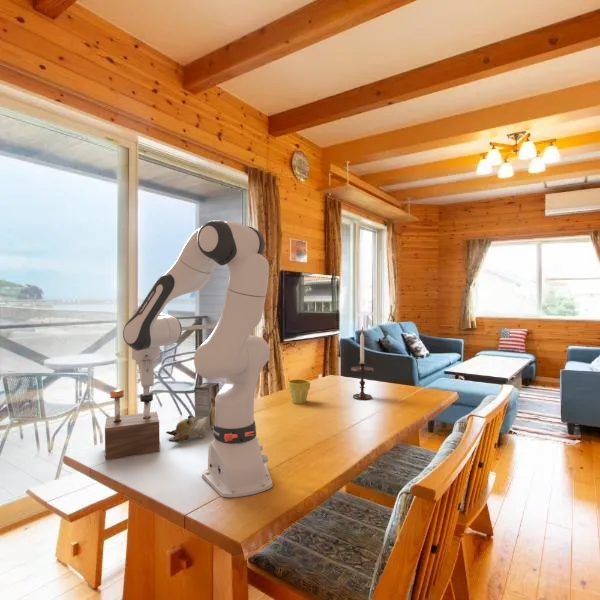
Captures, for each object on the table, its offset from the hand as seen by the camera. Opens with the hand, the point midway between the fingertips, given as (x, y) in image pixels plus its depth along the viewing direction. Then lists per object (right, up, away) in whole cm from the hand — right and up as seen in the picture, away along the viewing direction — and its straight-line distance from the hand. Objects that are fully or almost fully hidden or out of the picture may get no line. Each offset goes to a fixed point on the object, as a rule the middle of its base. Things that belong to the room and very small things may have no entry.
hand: (146, 394), depth 136 cm
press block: (-4, -18, -1) cm, 18 cm away
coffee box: (+16, -18, +21) cm, 32 cm away
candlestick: (+82, -16, +62) cm, 104 cm away
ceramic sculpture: (+12, -18, +8) cm, 23 cm away
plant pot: (+51, -17, +55) cm, 77 cm away
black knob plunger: (0, -13, 0) cm, 13 cm away
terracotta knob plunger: (-8, -11, -3) cm, 14 cm away
